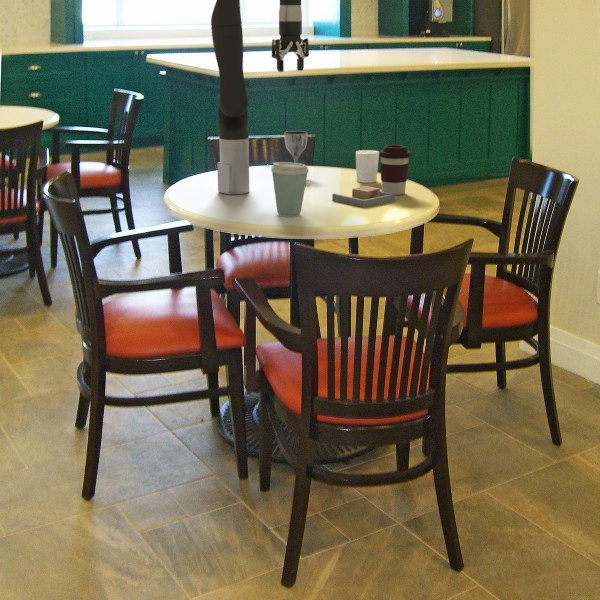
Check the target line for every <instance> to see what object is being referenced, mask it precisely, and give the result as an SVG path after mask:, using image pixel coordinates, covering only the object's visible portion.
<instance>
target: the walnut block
mask: <svg viewBox="0 0 600 600" xmlns="http://www.w3.org/2000/svg"><path fill="white" fill-rule="evenodd" d="M351 191H352V192H351V193H352V196H351V197H353V198H358V199H362V200H366V199H371V198H376V197H380V191H381V189H380V187H379V188H377V187H372V186H367V185H363V186H359V187H356V188H352V189H351Z"/></svg>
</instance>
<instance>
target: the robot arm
mask: <svg viewBox="0 0 600 600" xmlns="http://www.w3.org/2000/svg"><path fill="white" fill-rule="evenodd" d="M278 9H279V10H278V34H279V36H280V37H279V38H273V39H272V40H271V57H272V58H273V59H275V60H276V69H277V72H278V73H283V72H284V66H285V65H284V61H285V60H284V58H285V57H286V55H287V54H288V53H293V54H295V55H296V70H297V71H304V67H305V63H304V62H305V60H304V59H305V58H308V57H309V56H310V51H309V49H310V48H309V47H310V46H309V38H307V37H301V36H302V34H303V12H302V11H303V9H302V0H279V8H278ZM242 24H243V23H242V15H241V1H240V0H216V2H215V5H214V7H213V9H212V14H211V18H210V26H211V37H212V38H211V39H212V44H213V45H212V46H213V49H214V54H215V55H214V56H215V60H216V62H217V63H216V64H217V66H218V67H217V68H218V75H219V76H218V77H219V94H218V96H217V113H218V115H217V117H218V119H217V120H218V135H219V139H218V141H219V161H218V162H217V163H216V165H217V192H218V193H222V194H225V195H229V196H231V195H241V194H242V195H243V194H248V193H249V192H250V149H249V147H250V145H249V144H250V140H249V138H250V137H249V133H250V132H249V121H248V120H249V119H248V116H249V115H248V110H249V109H248V107H249V104H250V102H249V96H248V92H247V88H246V82H245V76H244V37H243V35H244V34H243V25H242Z"/></svg>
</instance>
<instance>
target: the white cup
mask: <svg viewBox="0 0 600 600" xmlns="http://www.w3.org/2000/svg"><path fill="white" fill-rule="evenodd" d="M379 158H380V156H379V151H378V150H374V149H373V150H372V149H366V150H365V149H361V150H360V149H359V150H356V151H355V173H356V181H357V182H358V183H362V184H364V183H365V184H370V183H372V184H373V183H376V182H377V179H378V173H379V172H378V170H379V160H380V159H379Z"/></svg>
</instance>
